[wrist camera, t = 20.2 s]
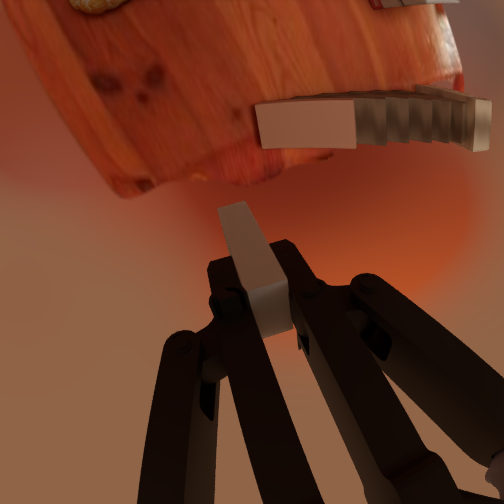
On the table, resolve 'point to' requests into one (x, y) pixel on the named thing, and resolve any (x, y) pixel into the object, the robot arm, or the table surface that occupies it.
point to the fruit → (95, 5)
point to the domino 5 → (436, 116)
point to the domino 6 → (452, 117)
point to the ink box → (405, 3)
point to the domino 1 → (307, 123)
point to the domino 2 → (366, 118)
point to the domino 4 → (416, 116)
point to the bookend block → (468, 115)
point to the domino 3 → (390, 115)
